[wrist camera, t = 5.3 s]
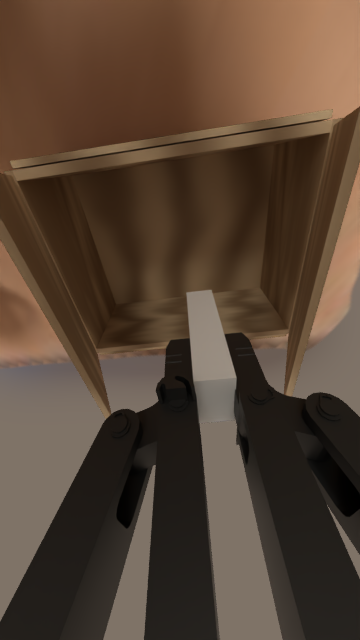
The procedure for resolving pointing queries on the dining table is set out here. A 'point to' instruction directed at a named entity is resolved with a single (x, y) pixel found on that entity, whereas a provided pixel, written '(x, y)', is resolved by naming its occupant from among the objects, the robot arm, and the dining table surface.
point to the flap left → (48, 287)
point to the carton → (182, 227)
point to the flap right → (323, 237)
